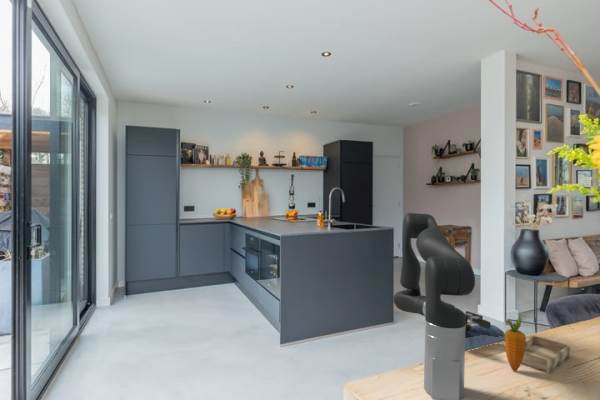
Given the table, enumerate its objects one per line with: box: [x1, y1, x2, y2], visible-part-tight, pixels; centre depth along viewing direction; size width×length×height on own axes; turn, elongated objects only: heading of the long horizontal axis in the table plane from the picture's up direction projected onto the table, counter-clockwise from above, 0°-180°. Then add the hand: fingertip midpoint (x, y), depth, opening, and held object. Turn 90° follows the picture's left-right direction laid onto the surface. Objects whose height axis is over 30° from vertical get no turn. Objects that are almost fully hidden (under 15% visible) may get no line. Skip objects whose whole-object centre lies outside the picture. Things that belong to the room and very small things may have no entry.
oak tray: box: [521, 335, 571, 375], centre depth 106 cm, size 18×10×4 cm, turn 127°
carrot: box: [504, 317, 526, 372], centre depth 98 cm, size 5×5×15 cm
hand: (480, 327), depth 108 cm, fingers open, 8 cm apart
